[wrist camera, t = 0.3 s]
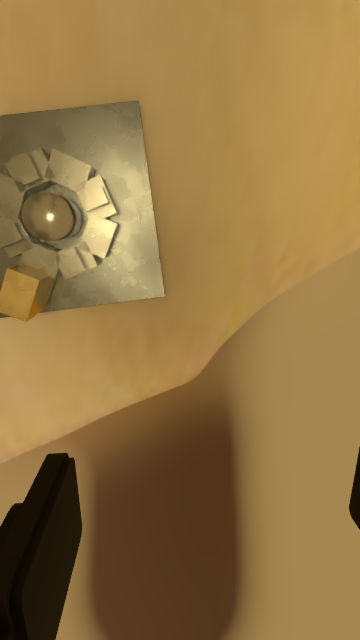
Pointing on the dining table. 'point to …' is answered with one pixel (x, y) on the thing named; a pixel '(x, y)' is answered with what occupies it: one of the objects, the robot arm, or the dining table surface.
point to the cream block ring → (38, 258)
